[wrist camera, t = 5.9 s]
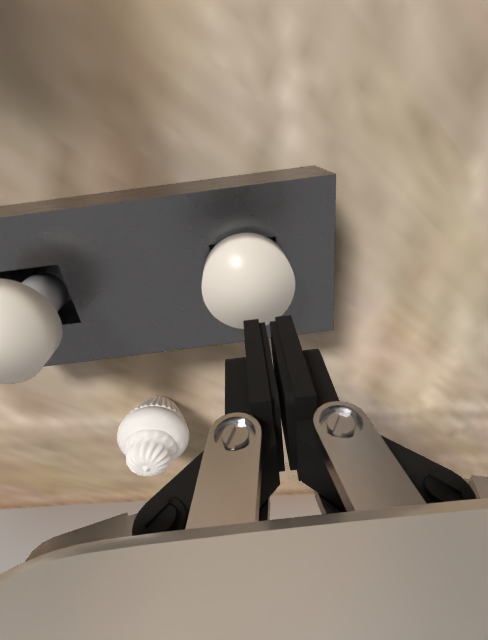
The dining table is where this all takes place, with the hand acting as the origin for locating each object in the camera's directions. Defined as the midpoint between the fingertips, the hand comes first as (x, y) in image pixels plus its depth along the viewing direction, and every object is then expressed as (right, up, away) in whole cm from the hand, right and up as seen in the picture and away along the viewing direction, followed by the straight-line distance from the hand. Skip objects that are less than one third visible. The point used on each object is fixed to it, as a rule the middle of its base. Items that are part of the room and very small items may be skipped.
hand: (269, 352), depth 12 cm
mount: (-7, +6, +13) cm, 16 cm away
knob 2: (-1, +6, +12) cm, 13 cm away
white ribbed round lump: (-9, -7, +21) cm, 24 cm away
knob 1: (-14, +3, +10) cm, 17 cm away
